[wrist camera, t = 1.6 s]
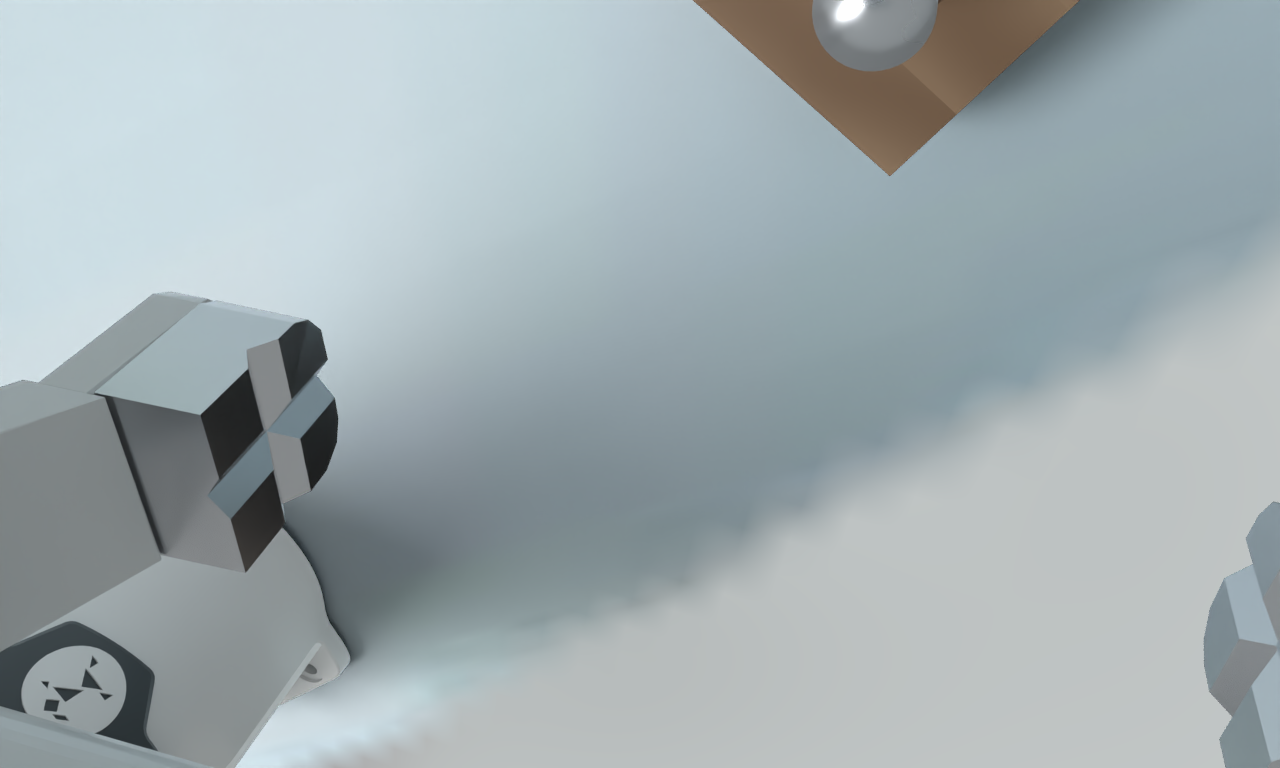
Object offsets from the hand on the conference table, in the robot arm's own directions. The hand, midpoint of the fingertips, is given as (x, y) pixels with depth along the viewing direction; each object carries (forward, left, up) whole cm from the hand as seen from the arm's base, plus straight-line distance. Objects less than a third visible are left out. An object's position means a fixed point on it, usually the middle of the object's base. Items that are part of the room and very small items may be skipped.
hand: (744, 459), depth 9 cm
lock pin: (0, 0, -23) cm, 23 cm away
